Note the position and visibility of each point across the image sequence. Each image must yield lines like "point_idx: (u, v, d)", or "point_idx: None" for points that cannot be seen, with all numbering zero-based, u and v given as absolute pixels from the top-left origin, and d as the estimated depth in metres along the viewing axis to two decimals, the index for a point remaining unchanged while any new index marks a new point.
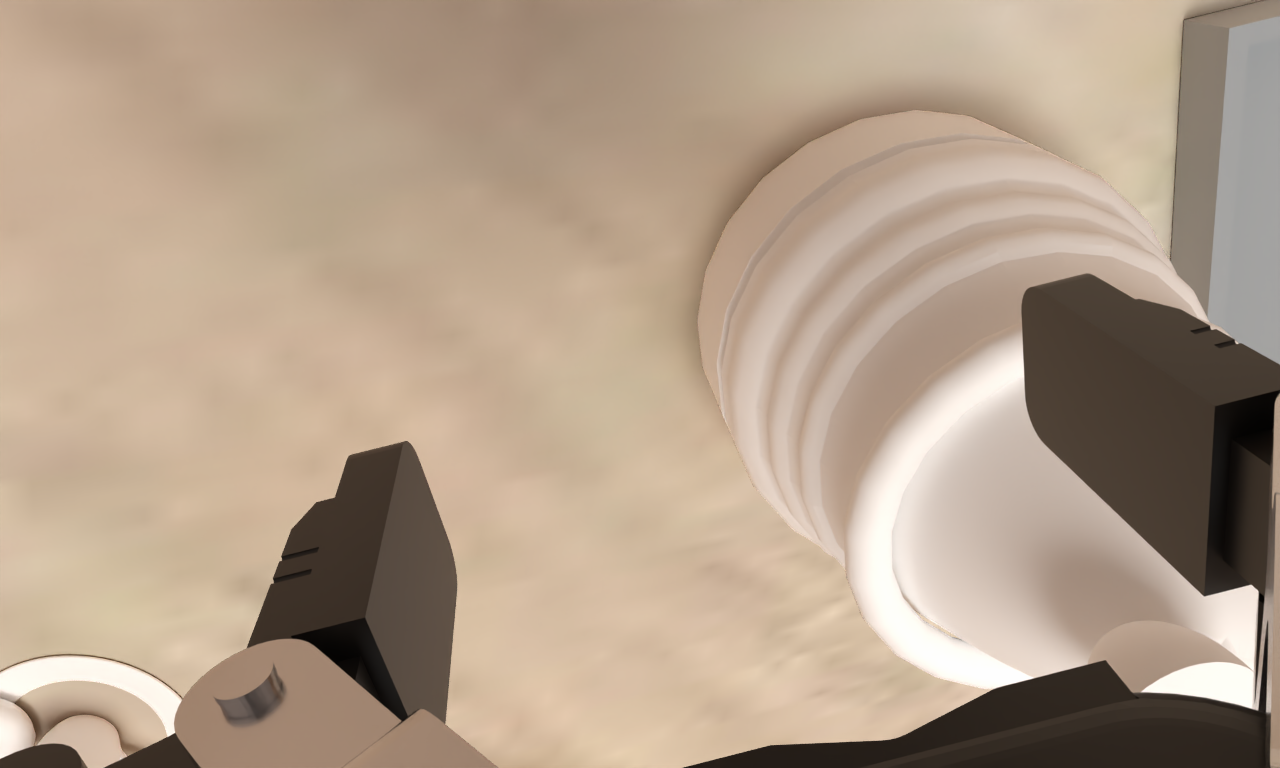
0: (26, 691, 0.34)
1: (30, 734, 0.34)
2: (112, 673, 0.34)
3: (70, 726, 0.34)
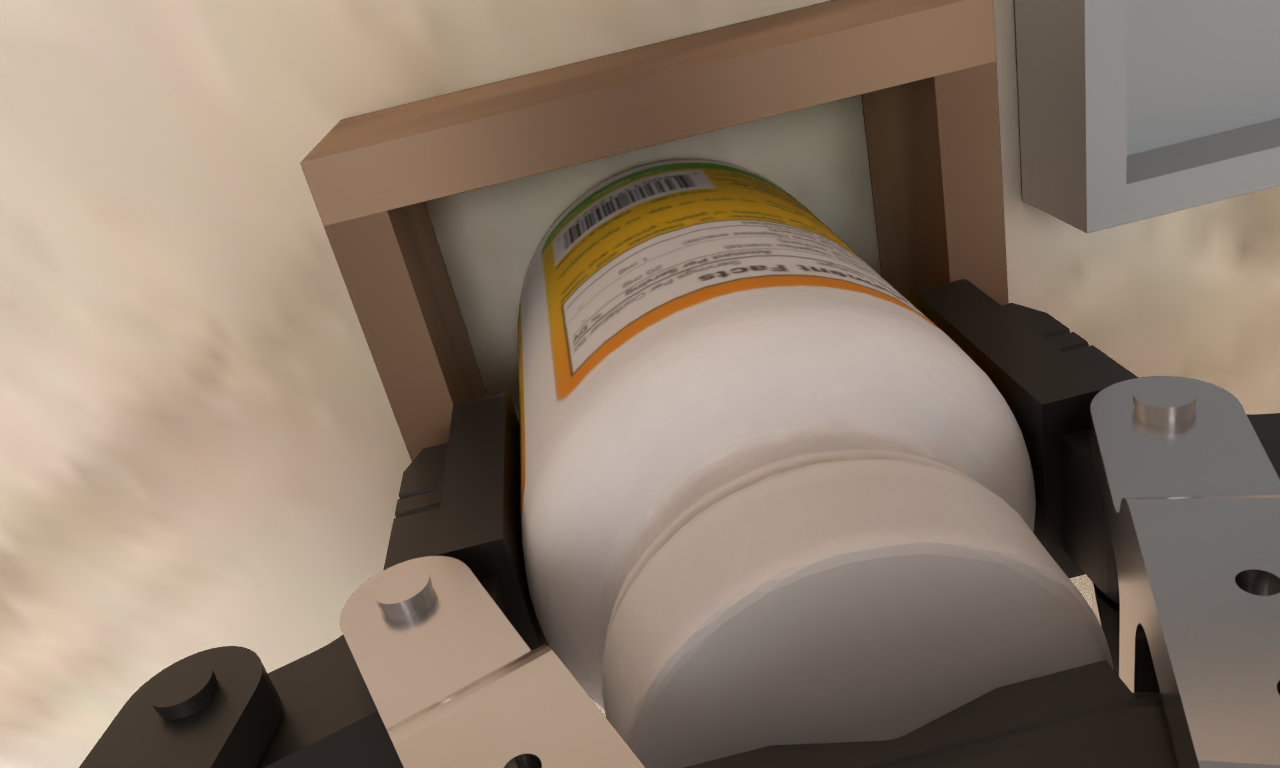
0: None
1: None
2: None
3: None
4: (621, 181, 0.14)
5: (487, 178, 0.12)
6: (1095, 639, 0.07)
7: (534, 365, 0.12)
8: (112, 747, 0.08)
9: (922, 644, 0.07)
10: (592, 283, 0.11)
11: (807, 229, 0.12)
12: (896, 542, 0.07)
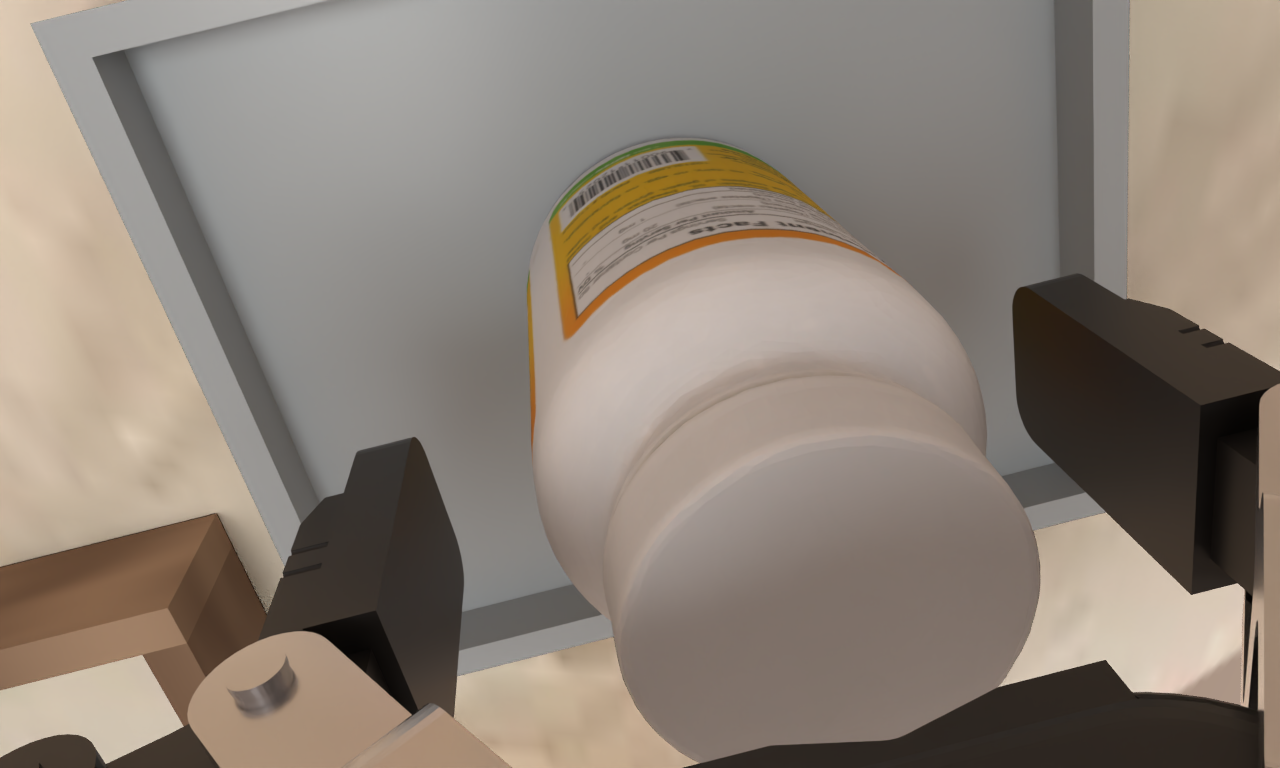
0: None
1: None
2: None
3: None
4: (621, 157, 0.15)
5: None
6: (1021, 525, 0.08)
7: (542, 317, 0.13)
8: None
9: (873, 525, 0.08)
10: (595, 242, 0.13)
11: (788, 195, 0.13)
12: (849, 435, 0.08)
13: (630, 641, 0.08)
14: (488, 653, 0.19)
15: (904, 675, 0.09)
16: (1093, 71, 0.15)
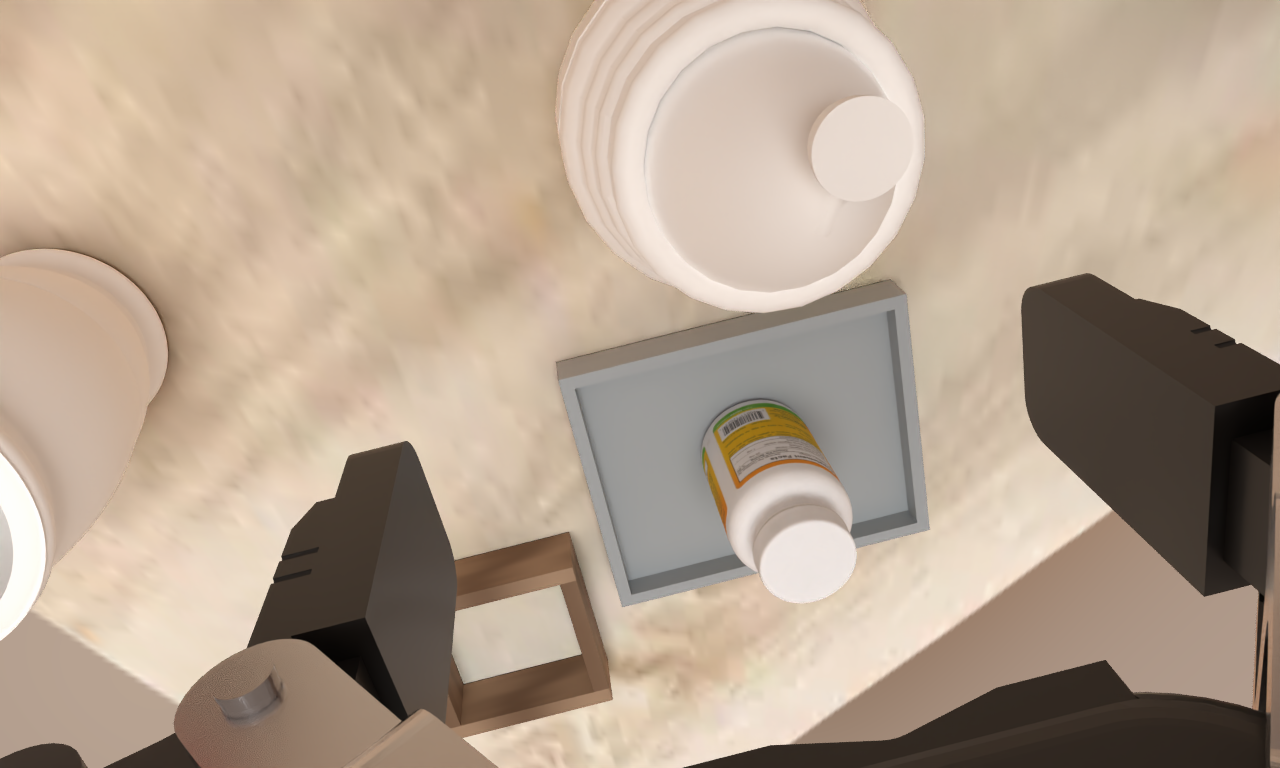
0: None
1: None
2: None
3: None
4: (738, 410, 0.45)
5: None
6: (850, 540, 0.38)
7: (722, 475, 0.42)
8: None
9: (817, 540, 0.38)
10: (739, 453, 0.42)
11: (797, 437, 0.42)
12: (811, 521, 0.37)
13: (762, 566, 0.38)
14: (677, 587, 0.48)
15: (825, 575, 0.38)
16: (902, 380, 0.45)
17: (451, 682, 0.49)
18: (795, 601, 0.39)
